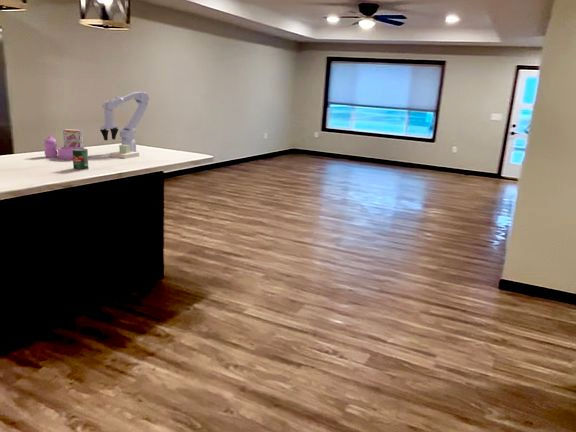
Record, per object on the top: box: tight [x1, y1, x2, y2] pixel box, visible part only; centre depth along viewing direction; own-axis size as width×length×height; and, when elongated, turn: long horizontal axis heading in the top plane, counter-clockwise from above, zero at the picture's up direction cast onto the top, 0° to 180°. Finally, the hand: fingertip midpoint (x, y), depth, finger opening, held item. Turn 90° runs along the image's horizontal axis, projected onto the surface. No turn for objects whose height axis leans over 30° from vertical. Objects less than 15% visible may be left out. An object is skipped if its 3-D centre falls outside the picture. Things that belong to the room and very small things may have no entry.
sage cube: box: [118, 144, 131, 153], centre depth 330 cm, size 5×5×5 cm
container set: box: [43, 135, 85, 161], centre depth 311 cm, size 25×15×13 cm, turn 83°
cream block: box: [109, 151, 140, 159], centre depth 330 cm, size 14×12×3 cm
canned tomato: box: [72, 148, 89, 171], centre depth 279 cm, size 8×8×11 cm
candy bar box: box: [62, 128, 85, 149], centre depth 322 cm, size 11×5×16 cm, turn 84°
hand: (109, 139), depth 335 cm, fingers open, 7 cm apart
